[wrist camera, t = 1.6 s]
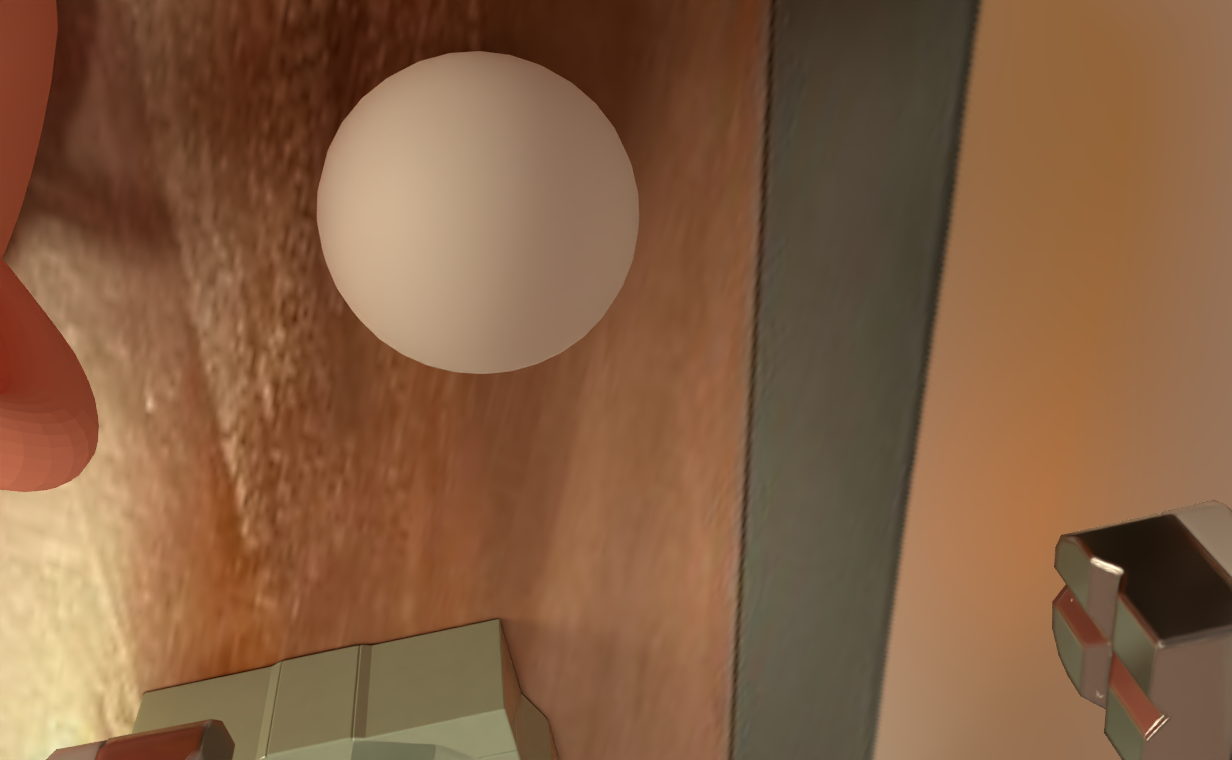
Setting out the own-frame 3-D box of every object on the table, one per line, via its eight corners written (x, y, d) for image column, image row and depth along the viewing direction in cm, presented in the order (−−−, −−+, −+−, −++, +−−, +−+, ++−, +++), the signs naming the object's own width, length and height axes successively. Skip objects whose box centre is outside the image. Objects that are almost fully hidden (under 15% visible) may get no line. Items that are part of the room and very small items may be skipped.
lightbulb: (640, 97, 29) (733, 285, 20) (471, 249, 31) (485, 491, 21) (470, -91, 26) (486, 27, 17) (295, 89, 28) (221, 286, 19)
